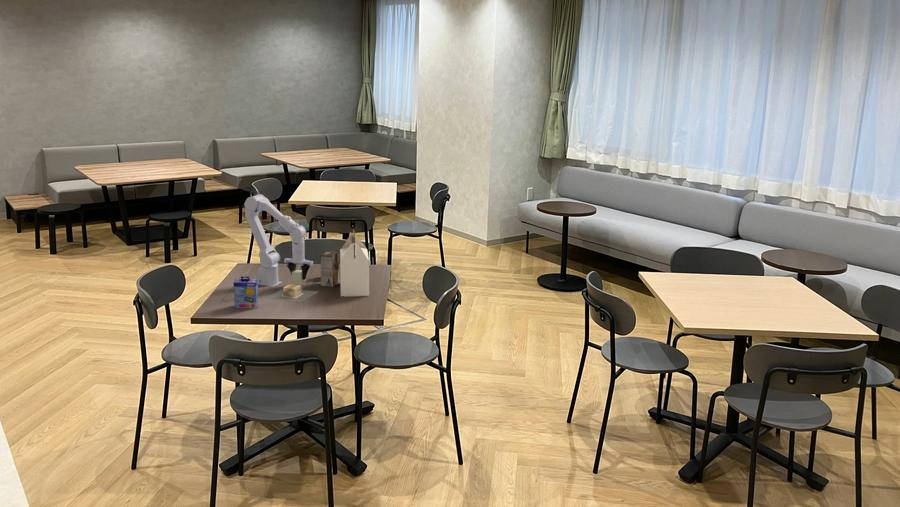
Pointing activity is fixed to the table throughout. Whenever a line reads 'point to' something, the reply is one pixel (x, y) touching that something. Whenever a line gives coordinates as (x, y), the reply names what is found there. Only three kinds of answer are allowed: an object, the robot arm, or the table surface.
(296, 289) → the maple base block
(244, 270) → the table surface
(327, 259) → the coffee box
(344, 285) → the gable box
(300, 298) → the board
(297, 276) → the sage top block
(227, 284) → the table surface
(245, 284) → the ink cartridge box
